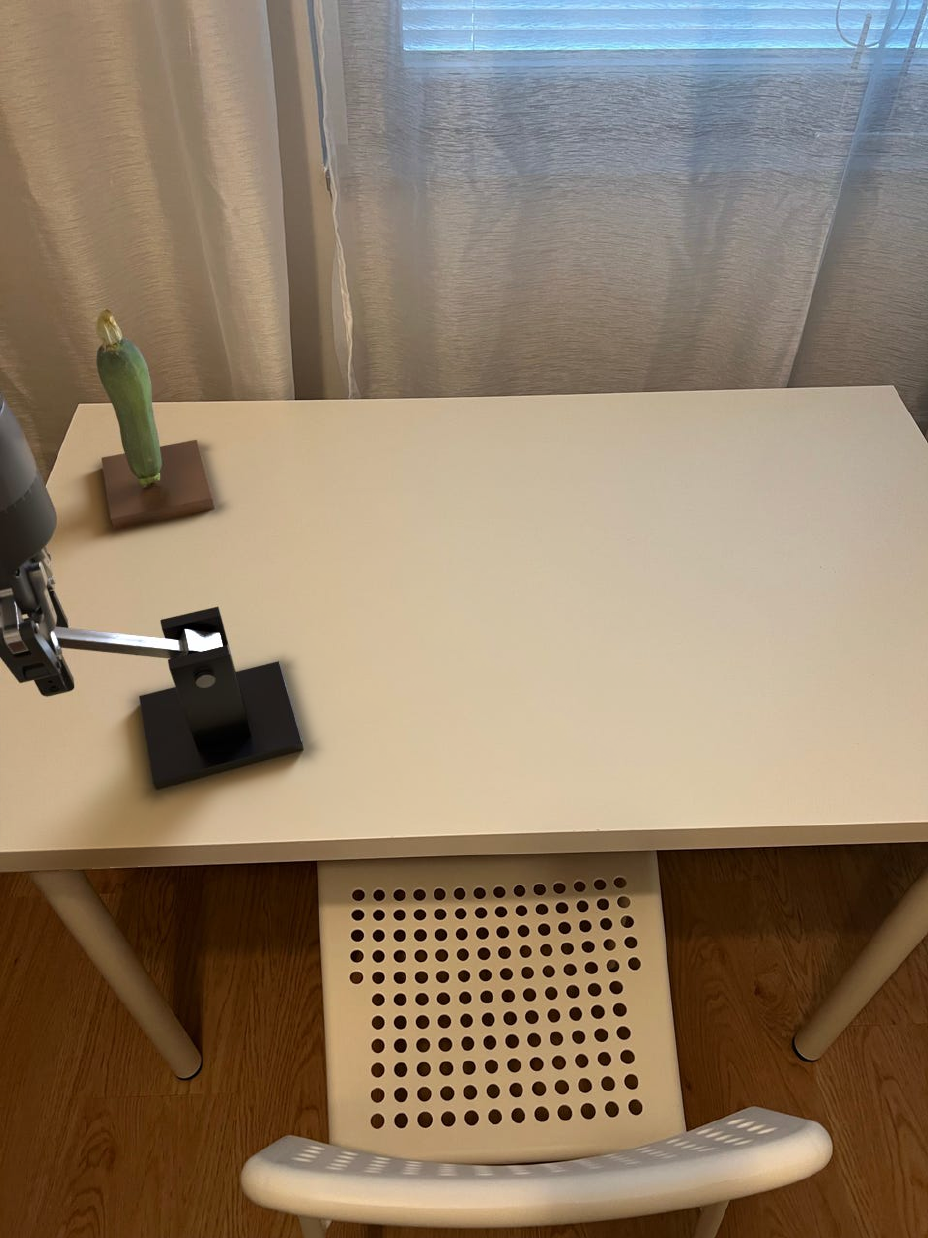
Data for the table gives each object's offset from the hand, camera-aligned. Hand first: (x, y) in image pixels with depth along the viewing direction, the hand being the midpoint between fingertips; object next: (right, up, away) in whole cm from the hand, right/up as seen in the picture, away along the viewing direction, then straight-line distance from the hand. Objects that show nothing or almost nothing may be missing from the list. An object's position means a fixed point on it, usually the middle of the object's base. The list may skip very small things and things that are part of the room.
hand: (56, 658), depth 67 cm
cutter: (+9, -6, +12) cm, 16 cm away
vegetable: (-3, +17, +30) cm, 35 cm away
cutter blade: (+4, 0, +2) cm, 5 cm away
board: (-3, +17, +31) cm, 36 cm away
